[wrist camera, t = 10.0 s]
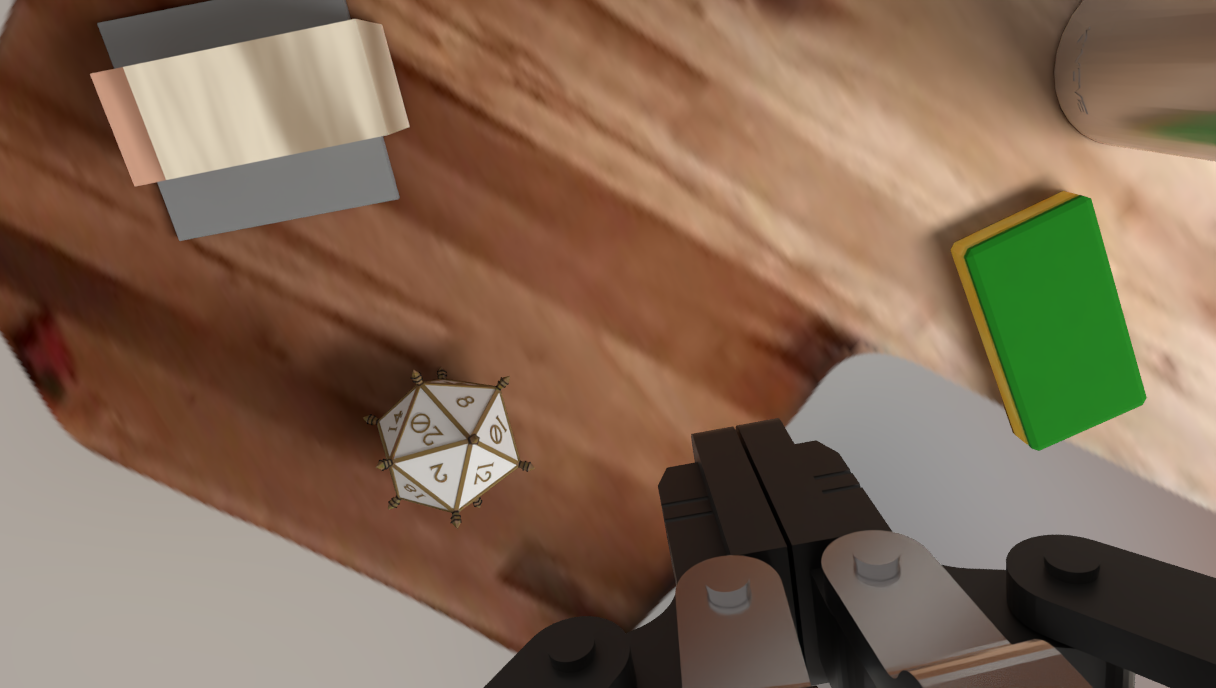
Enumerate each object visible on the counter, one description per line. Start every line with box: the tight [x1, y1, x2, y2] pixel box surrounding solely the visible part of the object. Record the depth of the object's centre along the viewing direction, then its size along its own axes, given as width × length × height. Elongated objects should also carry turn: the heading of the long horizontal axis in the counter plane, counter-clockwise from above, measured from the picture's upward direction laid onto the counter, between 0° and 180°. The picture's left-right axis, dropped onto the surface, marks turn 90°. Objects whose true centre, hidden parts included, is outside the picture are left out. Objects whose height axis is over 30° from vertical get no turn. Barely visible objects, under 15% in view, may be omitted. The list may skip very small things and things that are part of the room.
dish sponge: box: [950, 191, 1146, 451], centre depth 45 cm, size 7×14×2 cm, turn 26°
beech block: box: [90, 19, 410, 186], centre depth 37 cm, size 5×5×12 cm
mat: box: [97, 0, 400, 241], centre depth 40 cm, size 12×11×1 cm
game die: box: [363, 368, 535, 529], centre depth 43 cm, size 9×8×10 cm
